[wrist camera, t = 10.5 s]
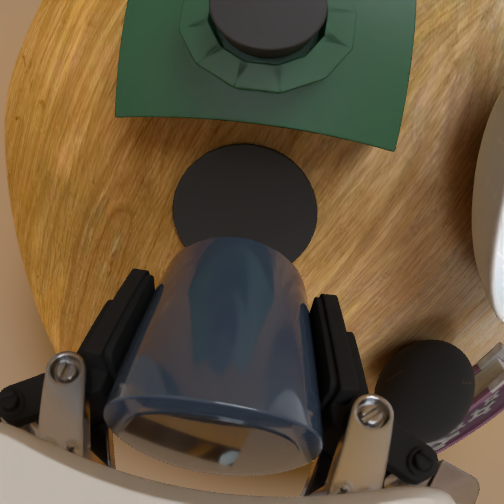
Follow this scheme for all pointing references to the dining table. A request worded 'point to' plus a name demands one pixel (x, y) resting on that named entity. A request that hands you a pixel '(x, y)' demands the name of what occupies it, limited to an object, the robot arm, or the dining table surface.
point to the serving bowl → (490, 209)
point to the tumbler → (222, 365)
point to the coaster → (246, 199)
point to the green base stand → (271, 70)
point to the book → (480, 398)
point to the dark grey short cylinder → (268, 24)
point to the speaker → (428, 388)
